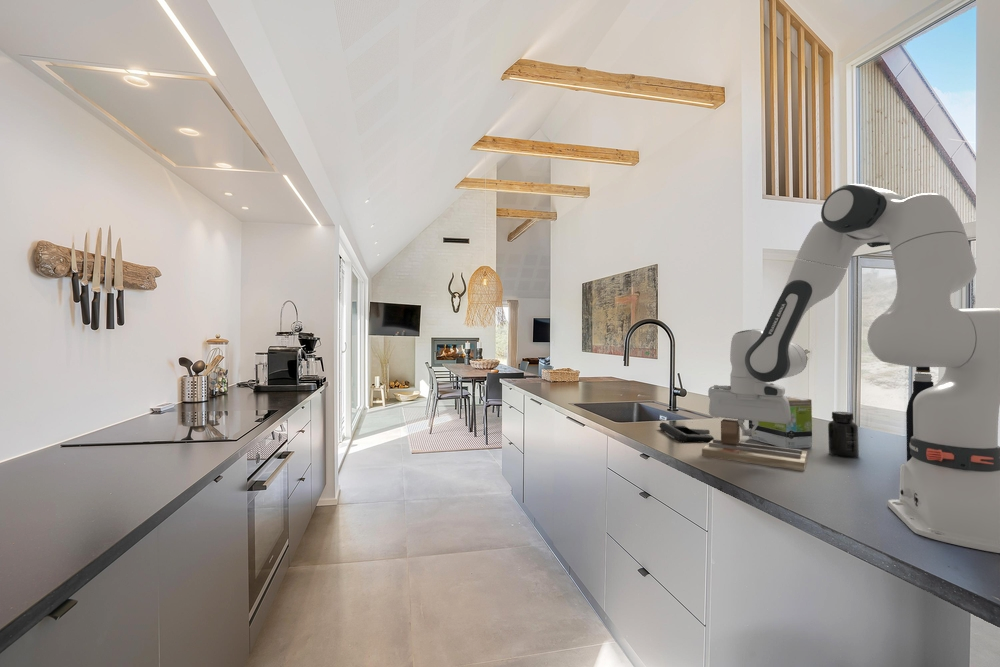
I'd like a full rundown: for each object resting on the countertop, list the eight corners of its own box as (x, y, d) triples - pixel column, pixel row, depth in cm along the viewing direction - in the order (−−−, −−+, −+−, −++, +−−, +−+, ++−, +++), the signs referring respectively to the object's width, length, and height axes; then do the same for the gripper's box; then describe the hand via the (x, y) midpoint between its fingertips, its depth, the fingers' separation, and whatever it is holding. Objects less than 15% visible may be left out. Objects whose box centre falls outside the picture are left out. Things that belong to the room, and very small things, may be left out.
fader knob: (736, 448, 125) (736, 422, 125) (721, 446, 127) (720, 421, 127) (739, 444, 129) (739, 420, 129) (724, 442, 131) (724, 418, 131)
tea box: (813, 447, 134) (813, 398, 134) (785, 450, 132) (785, 400, 132) (773, 436, 149) (772, 392, 149) (747, 438, 147) (746, 393, 147)
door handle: (700, 424, 161) (656, 421, 162) (727, 436, 141) (676, 433, 142) (699, 433, 161) (655, 430, 162) (727, 446, 141) (676, 444, 142)
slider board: (804, 470, 112) (804, 458, 112) (702, 455, 126) (701, 445, 126) (807, 458, 123) (807, 447, 123) (712, 445, 137) (712, 436, 137)
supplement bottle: (857, 453, 127) (856, 411, 127) (860, 459, 121) (860, 415, 121) (827, 450, 131) (826, 409, 131) (829, 456, 125) (828, 413, 125)
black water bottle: (944, 475, 107) (943, 351, 107) (908, 471, 111) (907, 350, 111) (939, 469, 112) (938, 350, 112) (905, 464, 116) (904, 350, 116)
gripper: (705, 385, 129) (706, 433, 129) (789, 390, 117) (789, 443, 117) (710, 383, 134) (711, 429, 134) (791, 388, 122) (791, 438, 122)
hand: (748, 435), depth 126 cm, fingers closed
